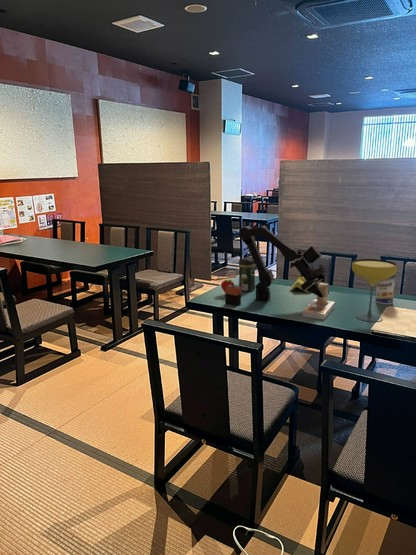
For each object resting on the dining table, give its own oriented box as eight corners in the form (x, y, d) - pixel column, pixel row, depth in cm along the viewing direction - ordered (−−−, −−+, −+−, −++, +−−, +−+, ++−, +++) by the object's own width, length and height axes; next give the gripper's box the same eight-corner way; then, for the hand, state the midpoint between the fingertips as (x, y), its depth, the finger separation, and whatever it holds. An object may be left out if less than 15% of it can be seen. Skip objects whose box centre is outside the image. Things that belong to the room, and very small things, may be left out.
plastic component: (312, 289, 219) (295, 280, 220) (305, 300, 222) (289, 291, 224) (317, 278, 236) (301, 270, 238) (310, 288, 239) (295, 280, 241)
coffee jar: (244, 286, 233) (244, 255, 228) (256, 288, 229) (257, 256, 224) (236, 290, 225) (236, 258, 221) (249, 292, 221) (249, 259, 216)
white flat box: (301, 316, 183) (302, 310, 183) (314, 303, 201) (314, 298, 200) (324, 319, 179) (324, 313, 178) (334, 306, 196) (335, 301, 196)
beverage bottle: (395, 302, 203) (399, 263, 198) (389, 305, 197) (393, 265, 192) (378, 298, 209) (382, 260, 204) (372, 302, 203) (375, 263, 198)
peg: (316, 308, 194) (318, 284, 191) (318, 306, 197) (320, 282, 194) (324, 309, 192) (326, 285, 189) (326, 307, 195) (328, 283, 192)
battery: (237, 306, 197) (237, 287, 195) (224, 304, 201) (225, 285, 198) (241, 304, 201) (241, 285, 198) (229, 302, 204) (229, 283, 202)
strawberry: (224, 292, 222) (224, 274, 219) (236, 294, 218) (236, 276, 216) (218, 295, 217) (218, 277, 214) (231, 297, 213) (231, 278, 211)
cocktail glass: (380, 311, 190) (385, 258, 184) (399, 324, 172) (405, 267, 166) (341, 311, 189) (346, 259, 183) (357, 325, 172) (362, 267, 166)
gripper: (308, 262, 184) (330, 290, 180) (324, 256, 198) (345, 281, 195) (291, 277, 191) (312, 303, 187) (308, 270, 205) (328, 294, 201)
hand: (325, 295), depth 192 cm, fingers open, 7 cm apart
